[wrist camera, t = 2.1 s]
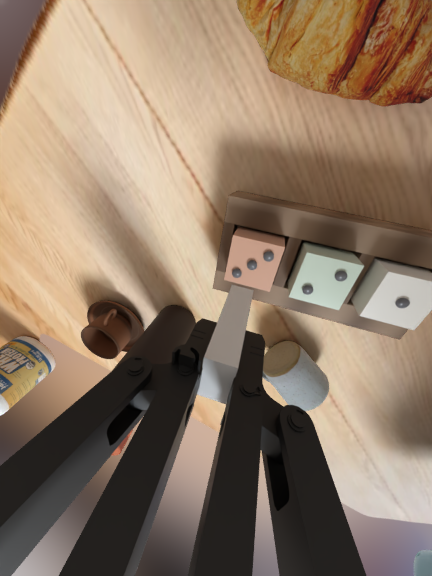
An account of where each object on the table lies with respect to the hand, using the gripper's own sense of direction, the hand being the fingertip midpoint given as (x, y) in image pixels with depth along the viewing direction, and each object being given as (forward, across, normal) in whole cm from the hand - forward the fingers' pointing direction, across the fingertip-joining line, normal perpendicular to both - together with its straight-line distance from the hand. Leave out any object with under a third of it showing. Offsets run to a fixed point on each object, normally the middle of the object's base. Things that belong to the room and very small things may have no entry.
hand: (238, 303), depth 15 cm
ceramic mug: (+15, -10, +19) cm, 26 cm away
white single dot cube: (+11, -14, 0) cm, 18 cm away
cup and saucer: (+16, +22, +22) cm, 35 cm away
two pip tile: (+11, -7, 0) cm, 13 cm away
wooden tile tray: (+15, -7, 0) cm, 17 cm away
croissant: (+16, -1, -20) cm, 25 cm away
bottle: (+15, +10, +17) cm, 25 cm away
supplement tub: (+15, +48, +42) cm, 66 cm away
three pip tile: (+11, 0, 0) cm, 11 cm away
